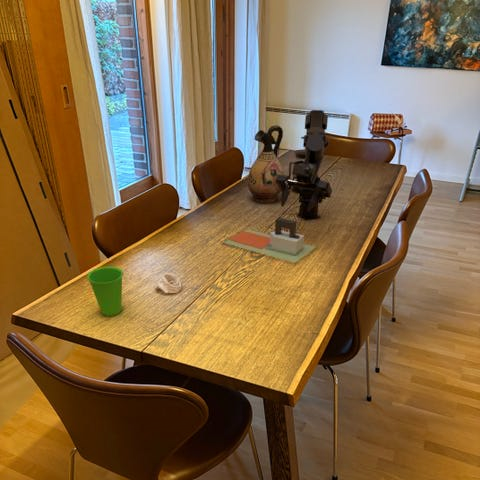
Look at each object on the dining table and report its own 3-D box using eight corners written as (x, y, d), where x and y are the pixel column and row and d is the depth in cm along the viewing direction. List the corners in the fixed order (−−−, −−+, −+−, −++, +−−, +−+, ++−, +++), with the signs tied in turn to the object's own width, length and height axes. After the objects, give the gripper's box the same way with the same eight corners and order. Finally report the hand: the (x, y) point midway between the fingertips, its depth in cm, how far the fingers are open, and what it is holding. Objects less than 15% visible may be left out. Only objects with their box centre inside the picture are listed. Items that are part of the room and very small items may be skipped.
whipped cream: (168, 283, 141) (166, 268, 139) (187, 286, 138) (185, 270, 136) (152, 293, 134) (150, 277, 132) (172, 297, 132) (170, 280, 129)
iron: (303, 249, 158) (305, 220, 153) (295, 256, 154) (297, 226, 148) (274, 242, 163) (275, 214, 158) (265, 249, 158) (266, 220, 153)
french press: (316, 188, 216) (321, 135, 203) (310, 194, 208) (314, 140, 196) (292, 185, 220) (295, 133, 207) (285, 191, 212) (288, 137, 200)
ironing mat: (223, 243, 163) (223, 241, 163) (247, 230, 174) (247, 228, 173) (294, 264, 150) (294, 262, 150) (316, 248, 160) (316, 246, 160)
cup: (97, 303, 129) (90, 267, 123) (130, 301, 130) (125, 265, 124) (91, 321, 122) (83, 283, 116) (126, 319, 122) (121, 282, 116)
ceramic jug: (258, 207, 194) (260, 130, 178) (241, 197, 205) (241, 123, 189) (293, 201, 201) (298, 126, 184) (274, 191, 212) (277, 120, 196)
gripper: (279, 149, 155) (262, 191, 153) (332, 156, 147) (315, 201, 145) (287, 168, 165) (272, 208, 163) (338, 176, 157) (322, 217, 155)
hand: (294, 208), depth 156 cm, fingers open, 9 cm apart
